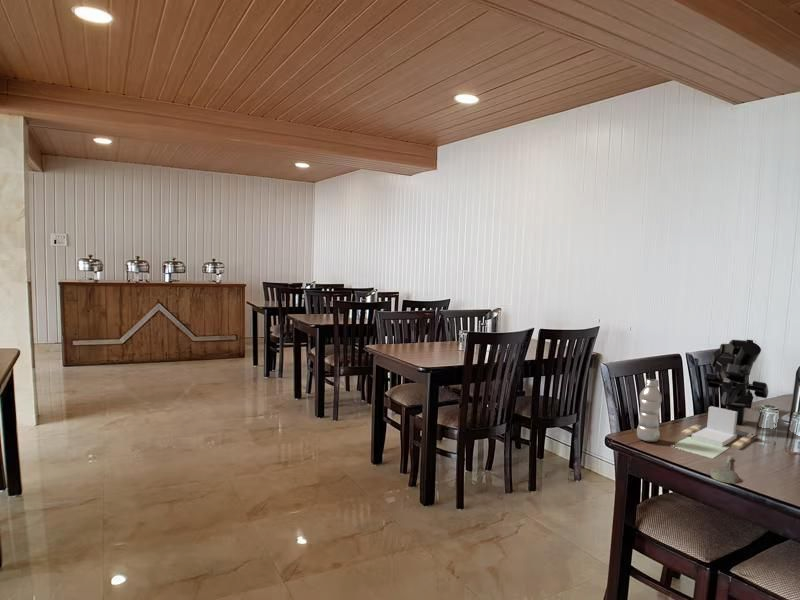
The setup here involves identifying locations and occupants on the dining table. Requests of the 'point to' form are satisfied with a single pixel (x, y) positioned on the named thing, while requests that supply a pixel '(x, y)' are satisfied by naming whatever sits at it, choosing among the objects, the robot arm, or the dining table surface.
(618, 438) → the dining table surface
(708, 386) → the robot arm
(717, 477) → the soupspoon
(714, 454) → the mat
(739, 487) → the dining table surface
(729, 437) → the white l-shaped bracket
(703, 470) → the dining table surface
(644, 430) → the plastic bottle
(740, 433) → the mat
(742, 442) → the channel
